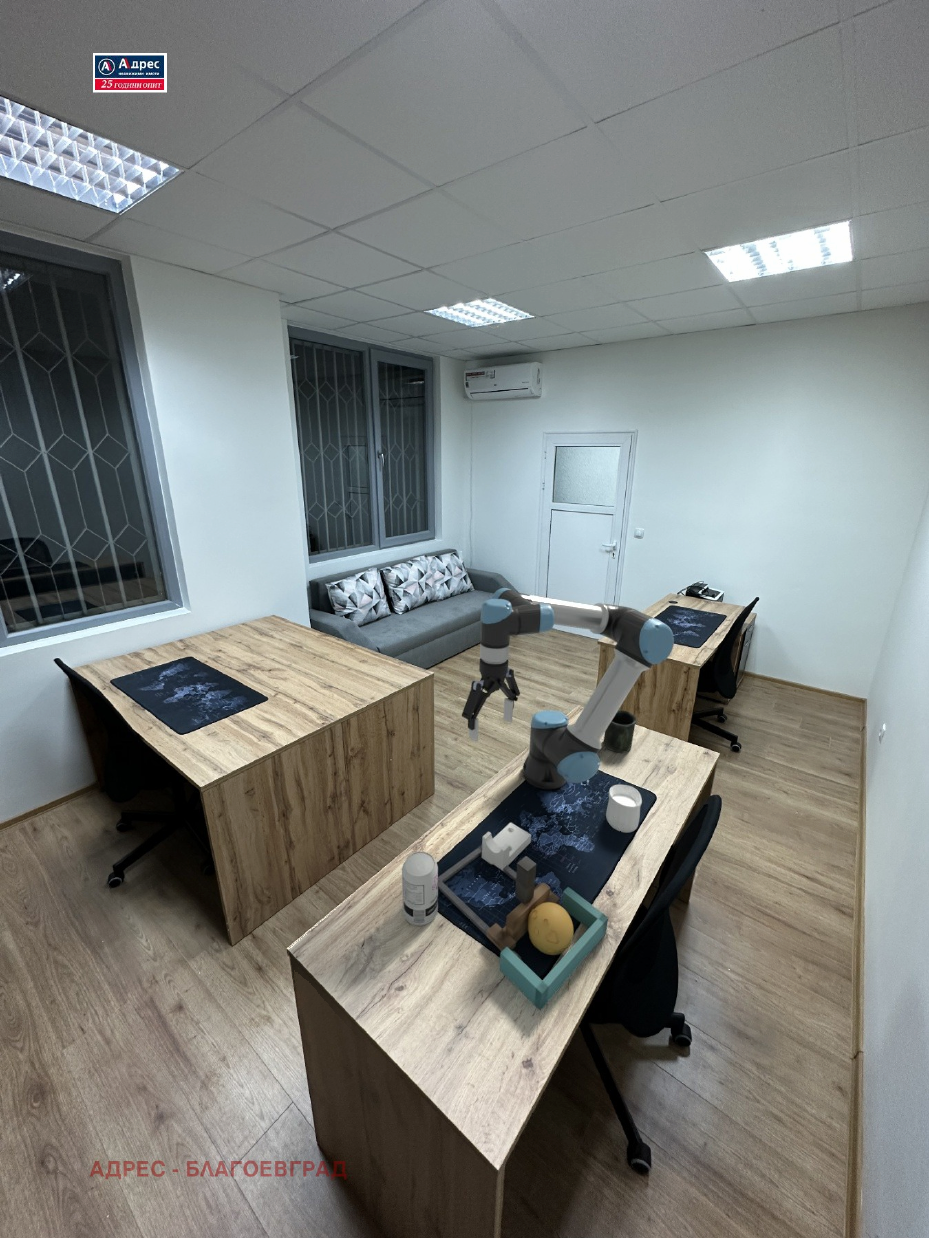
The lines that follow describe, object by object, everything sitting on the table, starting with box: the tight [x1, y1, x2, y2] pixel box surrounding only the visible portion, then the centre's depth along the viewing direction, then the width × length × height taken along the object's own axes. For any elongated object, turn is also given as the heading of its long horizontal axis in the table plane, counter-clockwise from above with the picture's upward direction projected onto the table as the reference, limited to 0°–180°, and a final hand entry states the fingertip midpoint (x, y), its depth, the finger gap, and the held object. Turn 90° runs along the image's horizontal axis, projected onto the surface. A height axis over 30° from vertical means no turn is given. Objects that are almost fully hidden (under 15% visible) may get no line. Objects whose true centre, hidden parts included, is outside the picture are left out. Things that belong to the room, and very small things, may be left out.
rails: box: [438, 844, 522, 961], centre depth 120 cm, size 18×28×1 cm, turn 43°
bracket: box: [481, 822, 532, 871], centre depth 133 cm, size 13×7×8 cm, turn 139°
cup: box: [605, 784, 643, 834], centre depth 144 cm, size 10×10×10 cm
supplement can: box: [401, 851, 439, 927], centre depth 114 cm, size 8×8×15 cm
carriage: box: [485, 855, 561, 952], centre depth 111 cm, size 19×6×18 cm, turn 133°
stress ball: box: [528, 902, 574, 956], centre depth 108 cm, size 10×10×10 cm
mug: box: [603, 709, 638, 753], centre depth 182 cm, size 11×15×12 cm
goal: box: [499, 886, 609, 1012], centre depth 107 cm, size 24×11×5 cm, turn 133°
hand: (491, 729), depth 134 cm, fingers open, 13 cm apart
